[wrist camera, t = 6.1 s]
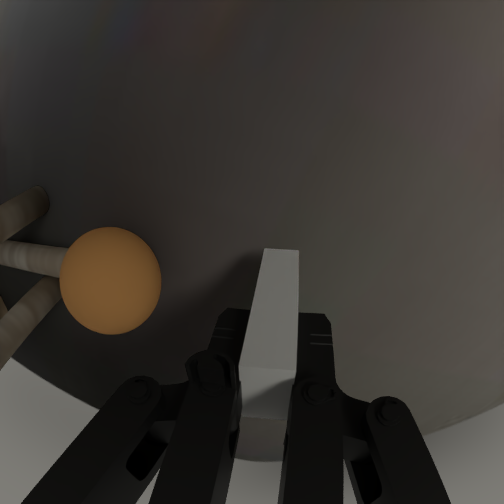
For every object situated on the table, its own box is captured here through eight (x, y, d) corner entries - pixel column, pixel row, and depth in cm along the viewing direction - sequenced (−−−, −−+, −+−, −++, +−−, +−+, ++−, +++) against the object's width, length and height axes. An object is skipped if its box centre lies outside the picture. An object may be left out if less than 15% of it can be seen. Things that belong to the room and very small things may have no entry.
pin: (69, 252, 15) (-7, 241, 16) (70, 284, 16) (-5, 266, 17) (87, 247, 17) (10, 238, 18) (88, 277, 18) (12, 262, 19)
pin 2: (48, 265, 18) (-30, 344, 10) (67, 267, 18) (-15, 353, 10) (57, 287, 19) (-14, 368, 11) (75, 291, 19) (2, 378, 11)
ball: (64, 277, 9) (171, 220, 13) (33, 244, 12) (114, 204, 16) (113, 374, 12) (191, 313, 16) (69, 325, 15) (136, 282, 19)
